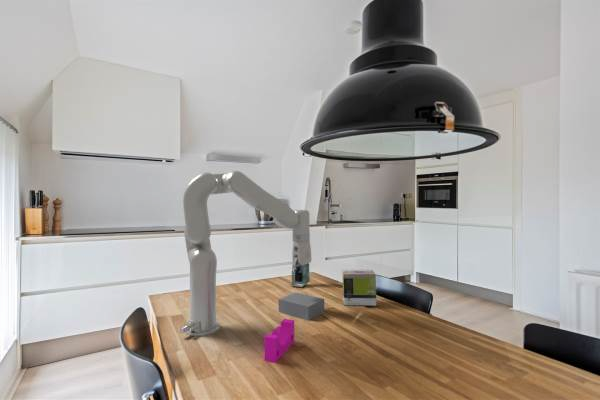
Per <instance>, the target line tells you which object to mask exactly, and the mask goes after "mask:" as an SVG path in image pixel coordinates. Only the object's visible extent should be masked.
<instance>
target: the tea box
mask: <svg viewBox="0 0 600 400" xmlns="http://www.w3.org/2000/svg"><path fill="white" fill-rule="evenodd" d="M341 272H342V299H343V306H372V307H373V306H377V279H376V278H377V275H376V273H375V272H374V270H373V269H342V271H341Z"/></svg>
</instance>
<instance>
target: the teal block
mask: <svg viewBox="0 0 600 400" xmlns="http://www.w3.org/2000/svg"><path fill="white" fill-rule="evenodd" d="M297 265H299V264H297ZM297 267H300V266H297ZM301 272H302V282H298V281H295V271H294V283H295V284H303V285H305V284H306V285H308V283H310V279H311V278H310V263H309V264H306V265H304V266H302V270H301ZM306 285H305V286H306Z"/></svg>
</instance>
